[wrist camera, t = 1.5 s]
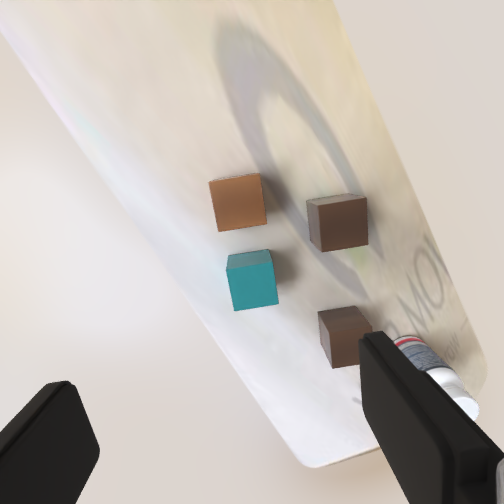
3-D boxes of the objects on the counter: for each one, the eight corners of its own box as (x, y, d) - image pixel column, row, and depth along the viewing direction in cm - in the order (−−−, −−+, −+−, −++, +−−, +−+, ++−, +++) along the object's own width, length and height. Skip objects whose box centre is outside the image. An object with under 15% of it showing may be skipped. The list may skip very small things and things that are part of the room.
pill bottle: (376, 347, 34) (422, 407, 25) (416, 327, 33) (476, 381, 25) (393, 377, 35) (442, 443, 27) (431, 358, 35) (493, 420, 26)
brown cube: (317, 311, 32) (329, 333, 28) (354, 305, 32) (372, 326, 28) (320, 343, 33) (332, 368, 29) (356, 338, 33) (373, 362, 29)
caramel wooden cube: (213, 180, 28) (208, 181, 23) (256, 172, 28) (259, 173, 23) (221, 223, 29) (218, 232, 25) (263, 216, 29) (267, 224, 25)
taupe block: (306, 200, 29) (317, 205, 24) (348, 193, 28) (367, 197, 24) (310, 241, 30) (321, 252, 26) (350, 234, 30) (368, 245, 26)
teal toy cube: (228, 255, 30) (225, 269, 26) (268, 249, 30) (272, 262, 26) (235, 292, 31) (234, 311, 27) (273, 286, 31) (278, 304, 27)
